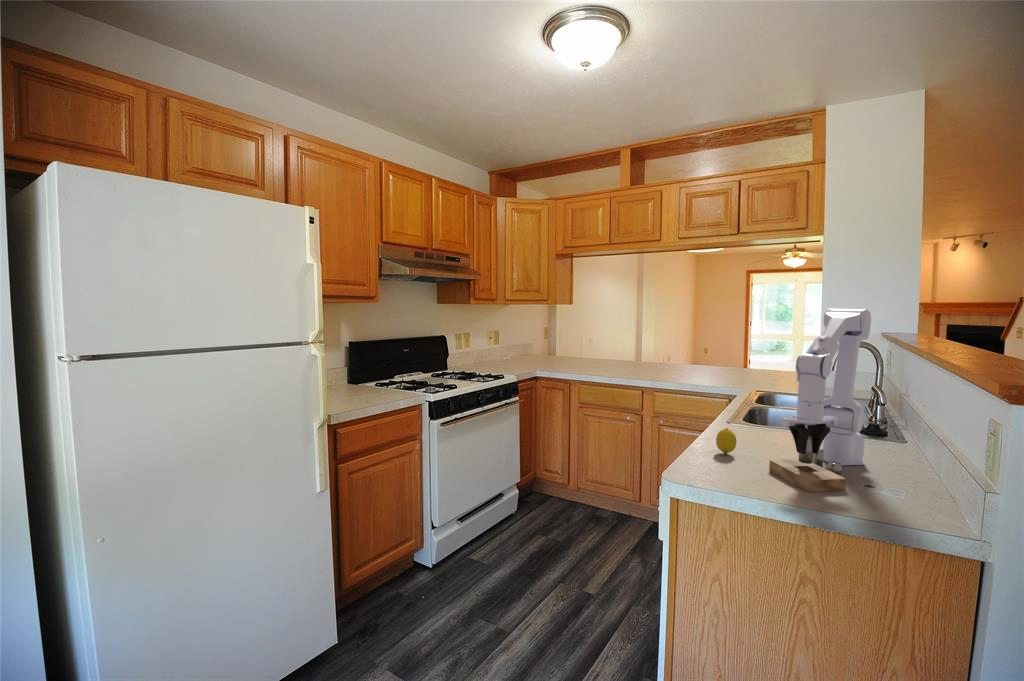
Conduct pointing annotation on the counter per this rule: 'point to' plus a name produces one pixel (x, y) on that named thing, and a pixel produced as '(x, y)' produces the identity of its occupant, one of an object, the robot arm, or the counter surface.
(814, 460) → the pin medium
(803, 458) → the pin tall
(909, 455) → the counter surface
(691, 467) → the counter surface
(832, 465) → the pin short
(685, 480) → the counter surface
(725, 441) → the lemon
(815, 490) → the hole block
